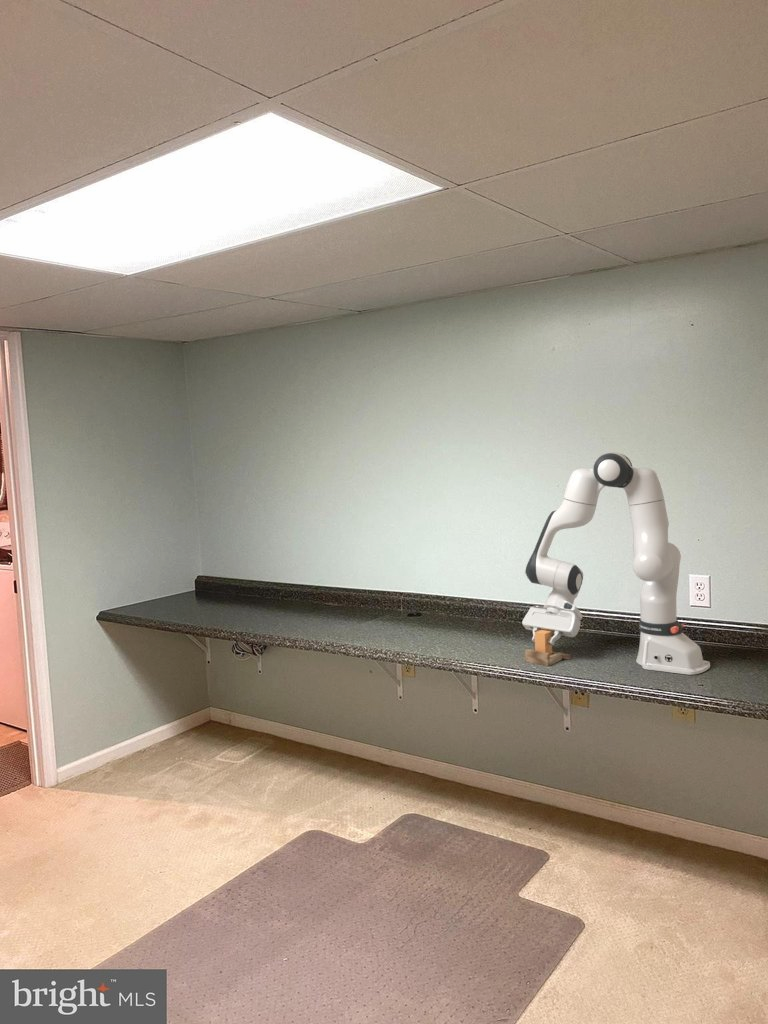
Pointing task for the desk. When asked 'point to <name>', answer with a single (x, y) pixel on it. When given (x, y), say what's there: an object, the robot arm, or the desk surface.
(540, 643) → the block
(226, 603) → the desk surface
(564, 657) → the door edge strip
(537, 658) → the index bracket
